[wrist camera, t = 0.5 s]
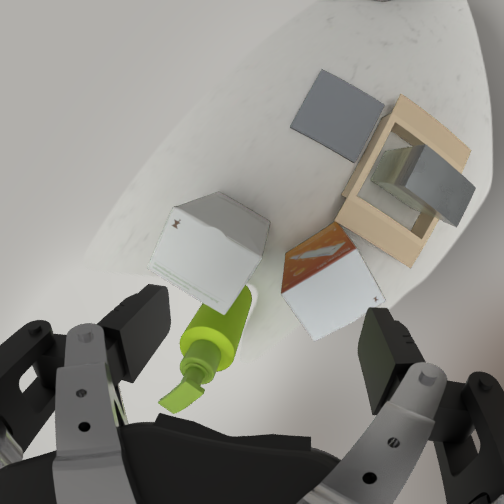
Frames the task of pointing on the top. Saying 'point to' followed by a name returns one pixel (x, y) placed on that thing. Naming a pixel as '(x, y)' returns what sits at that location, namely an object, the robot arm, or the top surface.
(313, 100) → the mat
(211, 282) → the skincare box
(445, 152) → the wooden rectangular frame
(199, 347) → the soap dispenser
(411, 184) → the tea tin
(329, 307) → the small box
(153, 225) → the top surface
